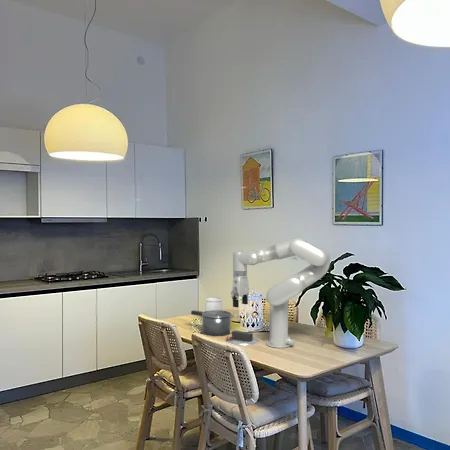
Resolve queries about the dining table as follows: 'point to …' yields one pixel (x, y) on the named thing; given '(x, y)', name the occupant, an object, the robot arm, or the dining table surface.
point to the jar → (213, 304)
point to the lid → (242, 338)
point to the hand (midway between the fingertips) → (240, 305)
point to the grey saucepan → (214, 322)
